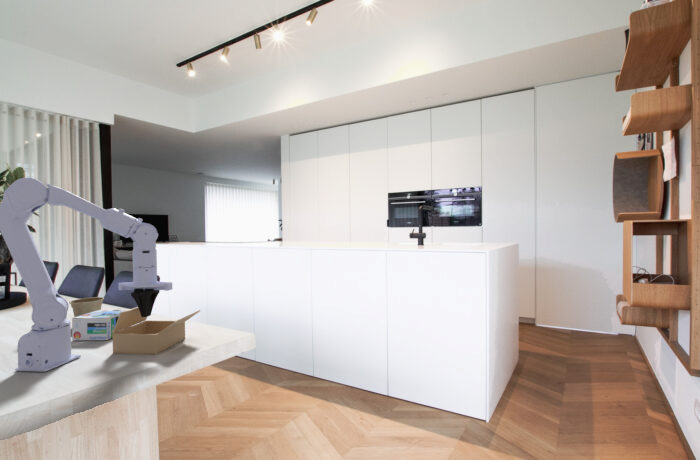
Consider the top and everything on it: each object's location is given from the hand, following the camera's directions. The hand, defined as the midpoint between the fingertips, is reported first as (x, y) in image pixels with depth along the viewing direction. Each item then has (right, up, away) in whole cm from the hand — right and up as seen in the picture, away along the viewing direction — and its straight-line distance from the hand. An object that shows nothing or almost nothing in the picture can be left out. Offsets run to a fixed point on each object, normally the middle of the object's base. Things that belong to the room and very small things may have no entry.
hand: (146, 316), depth 98 cm
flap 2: (+10, -1, -1) cm, 10 cm away
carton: (+1, -8, 0) cm, 8 cm away
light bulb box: (-19, -5, +15) cm, 25 cm away
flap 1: (-3, 0, 0) cm, 3 cm away
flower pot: (-32, -8, +21) cm, 39 cm away
